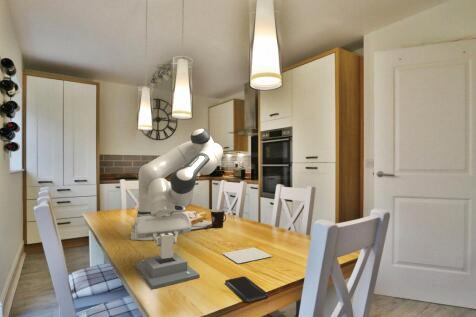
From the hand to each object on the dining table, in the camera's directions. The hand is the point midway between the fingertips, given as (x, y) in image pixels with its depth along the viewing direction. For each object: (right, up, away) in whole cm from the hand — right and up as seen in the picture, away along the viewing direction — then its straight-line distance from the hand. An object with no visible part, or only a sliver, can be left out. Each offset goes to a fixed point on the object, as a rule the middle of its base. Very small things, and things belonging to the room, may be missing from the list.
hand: (166, 244), depth 100 cm
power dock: (-1, -10, 0) cm, 10 cm away
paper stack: (+28, -10, +11) cm, 32 cm away
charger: (0, -4, 0) cm, 4 cm away
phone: (+28, -10, -15) cm, 33 cm away
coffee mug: (+14, -11, +68) cm, 70 cm away
